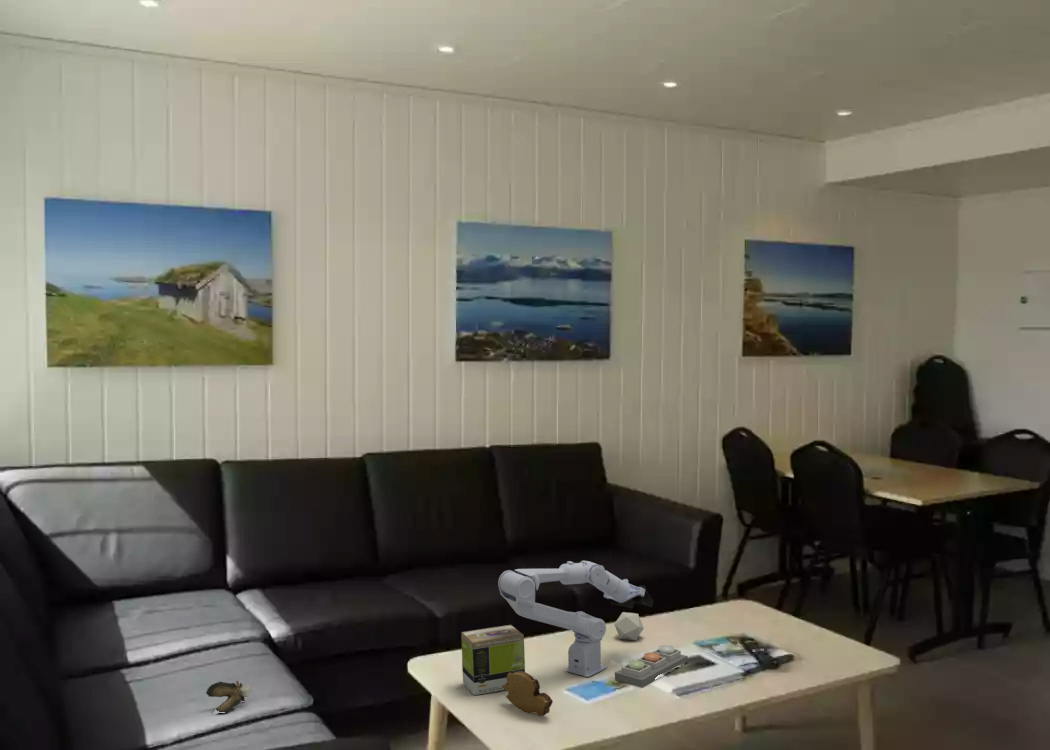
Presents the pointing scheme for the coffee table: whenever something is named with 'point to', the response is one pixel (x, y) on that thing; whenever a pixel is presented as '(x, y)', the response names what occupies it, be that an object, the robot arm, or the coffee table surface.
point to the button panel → (650, 669)
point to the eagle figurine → (229, 694)
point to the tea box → (491, 657)
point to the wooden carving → (526, 693)
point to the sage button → (636, 665)
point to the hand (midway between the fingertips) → (642, 604)
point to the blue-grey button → (666, 649)
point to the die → (629, 626)
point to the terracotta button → (652, 657)
